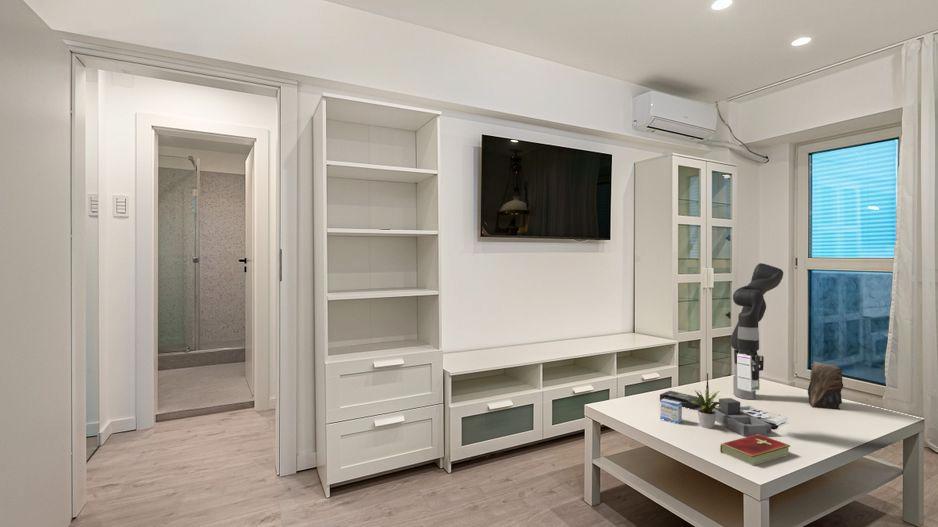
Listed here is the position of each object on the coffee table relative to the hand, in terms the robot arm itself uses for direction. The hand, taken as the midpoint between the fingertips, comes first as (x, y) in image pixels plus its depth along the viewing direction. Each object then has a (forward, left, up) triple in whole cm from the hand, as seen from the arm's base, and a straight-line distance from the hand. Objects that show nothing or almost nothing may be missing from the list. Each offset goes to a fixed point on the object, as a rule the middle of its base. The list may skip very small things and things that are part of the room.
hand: (748, 377), depth 184 cm
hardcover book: (+20, -13, -23) cm, 33 cm away
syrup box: (0, 0, -5) cm, 5 cm away
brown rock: (-25, +57, -22) cm, 66 cm away
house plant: (-7, -15, -22) cm, 28 cm away
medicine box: (-15, -25, -22) cm, 37 cm away
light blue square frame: (-19, +14, -22) cm, 32 cm away
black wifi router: (-35, -6, -23) cm, 42 cm away
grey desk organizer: (-8, 0, -22) cm, 23 cm away
